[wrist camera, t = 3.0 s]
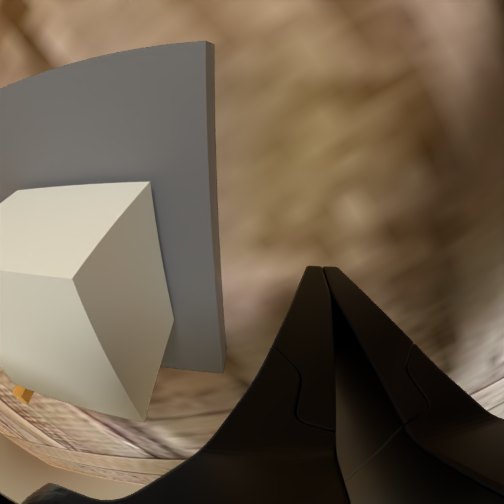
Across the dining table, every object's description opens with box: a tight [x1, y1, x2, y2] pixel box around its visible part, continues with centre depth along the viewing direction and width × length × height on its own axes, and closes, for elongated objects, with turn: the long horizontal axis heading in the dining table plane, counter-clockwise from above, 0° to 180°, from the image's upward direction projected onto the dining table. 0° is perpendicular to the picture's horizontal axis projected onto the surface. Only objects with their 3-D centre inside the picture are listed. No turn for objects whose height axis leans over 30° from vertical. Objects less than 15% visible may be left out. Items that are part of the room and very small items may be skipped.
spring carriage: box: [0, 182, 174, 422], centre depth 7 cm, size 5×5×4 cm
